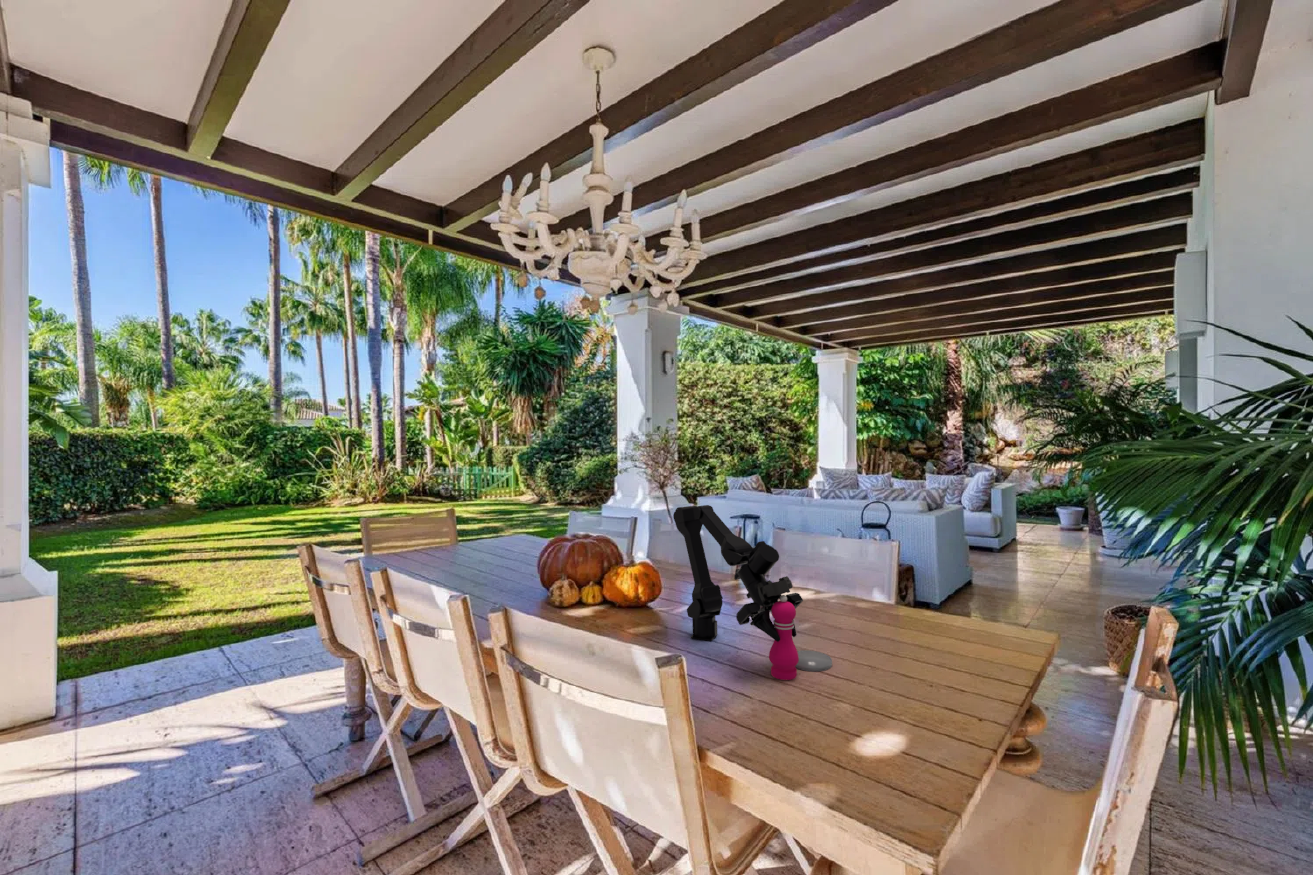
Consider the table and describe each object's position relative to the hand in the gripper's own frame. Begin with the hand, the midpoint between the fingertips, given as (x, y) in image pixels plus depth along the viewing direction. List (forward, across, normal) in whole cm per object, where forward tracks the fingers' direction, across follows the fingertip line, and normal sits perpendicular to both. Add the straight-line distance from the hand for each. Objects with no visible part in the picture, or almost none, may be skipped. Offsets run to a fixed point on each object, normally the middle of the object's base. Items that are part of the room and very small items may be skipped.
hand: (787, 638), depth 144 cm
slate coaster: (+5, +11, +9) cm, 15 cm away
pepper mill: (+6, 0, +8) cm, 10 cm away
